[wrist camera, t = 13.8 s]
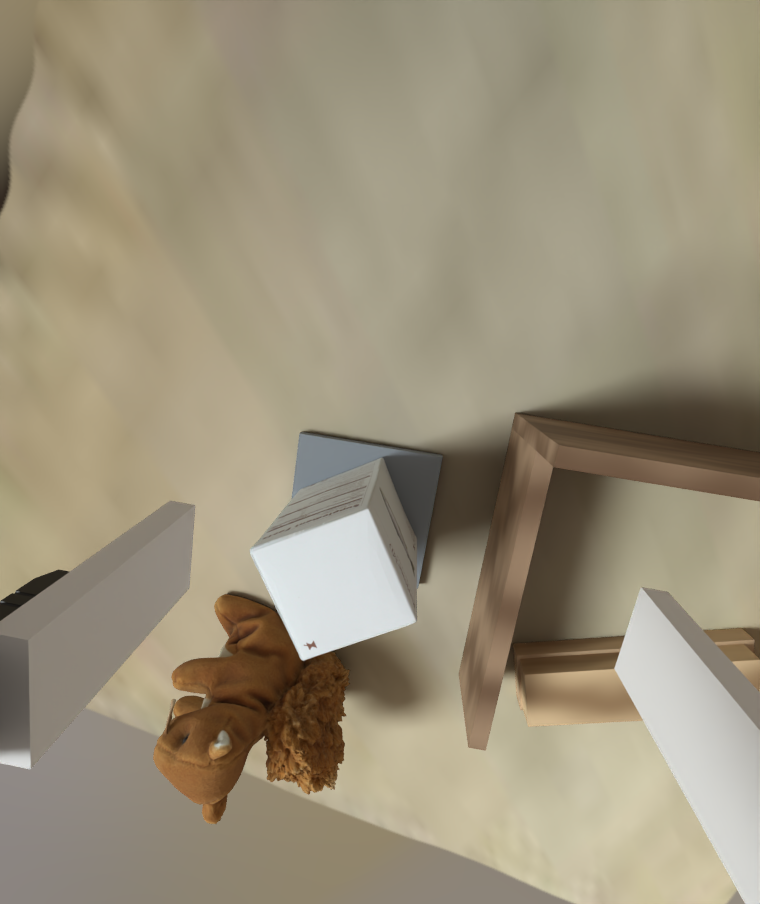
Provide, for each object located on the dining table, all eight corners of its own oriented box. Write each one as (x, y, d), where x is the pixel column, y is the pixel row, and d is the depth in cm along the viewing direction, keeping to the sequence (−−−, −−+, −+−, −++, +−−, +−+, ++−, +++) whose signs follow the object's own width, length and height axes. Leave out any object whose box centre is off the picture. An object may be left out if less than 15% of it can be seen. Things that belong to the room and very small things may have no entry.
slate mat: (301, 431, 40) (299, 433, 39) (442, 454, 39) (442, 457, 39) (286, 561, 42) (283, 565, 41) (417, 584, 42) (417, 588, 41)
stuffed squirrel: (215, 586, 43) (131, 690, 30) (375, 633, 43) (358, 758, 30) (192, 684, 46) (105, 820, 33) (344, 730, 45) (317, 883, 33)
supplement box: (419, 539, 40) (421, 627, 28) (333, 568, 41) (297, 666, 29) (385, 453, 39) (371, 506, 27) (296, 486, 40) (244, 551, 28)
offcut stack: (512, 641, 43) (521, 671, 39) (738, 625, 41) (772, 655, 37) (516, 693, 44) (525, 727, 40) (737, 680, 42) (769, 714, 38)
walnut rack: (515, 412, 38) (559, 445, 27) (873, 470, 38) (1080, 530, 26) (458, 673, 43) (475, 797, 32) (773, 730, 43) (908, 878, 31)
